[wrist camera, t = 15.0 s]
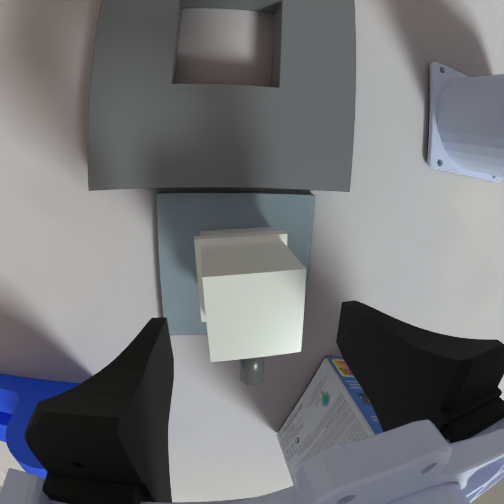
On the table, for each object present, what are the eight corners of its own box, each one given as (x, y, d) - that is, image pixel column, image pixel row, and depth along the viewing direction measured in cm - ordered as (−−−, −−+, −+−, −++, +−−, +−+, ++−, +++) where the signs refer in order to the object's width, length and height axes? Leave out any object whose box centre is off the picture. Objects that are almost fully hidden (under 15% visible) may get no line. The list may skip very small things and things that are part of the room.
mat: (311, 193, 19) (315, 195, 18) (298, 324, 22) (300, 329, 21) (158, 192, 17) (156, 193, 17) (166, 330, 20) (165, 335, 20)
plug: (275, 221, 18) (313, 261, 12) (274, 323, 21) (303, 389, 15) (194, 226, 18) (193, 270, 12) (203, 330, 20) (209, 401, 14)
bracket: (104, 383, 21) (80, 477, 13) (127, 445, 24) (119, 525, 15) (-49, 361, 18) (-90, 419, 10) (-16, 421, 21) (-43, 478, 13)
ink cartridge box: (323, 437, 27) (377, 556, 14) (273, 435, 26) (317, 572, 12) (376, 362, 25) (470, 488, 11) (324, 354, 23) (415, 511, 10)
